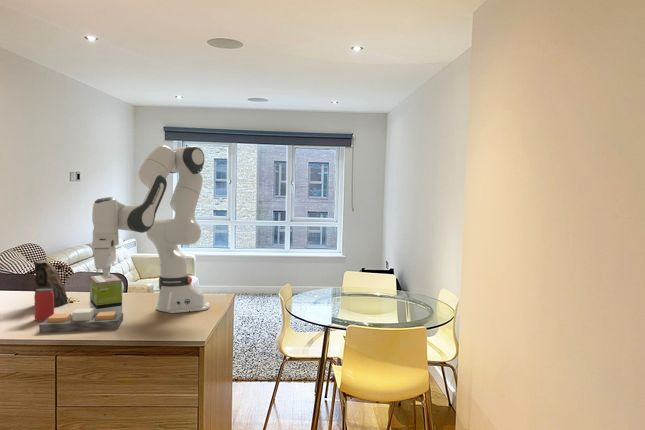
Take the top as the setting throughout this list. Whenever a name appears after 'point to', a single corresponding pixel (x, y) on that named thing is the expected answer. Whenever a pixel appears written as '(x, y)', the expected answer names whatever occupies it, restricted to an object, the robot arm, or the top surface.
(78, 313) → the key middle
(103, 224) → the robot arm
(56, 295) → the owl
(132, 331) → the top surface
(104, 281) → the tea box
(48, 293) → the beer can
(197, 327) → the top surface
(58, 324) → the dark grey tray
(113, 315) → the key
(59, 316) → the key
